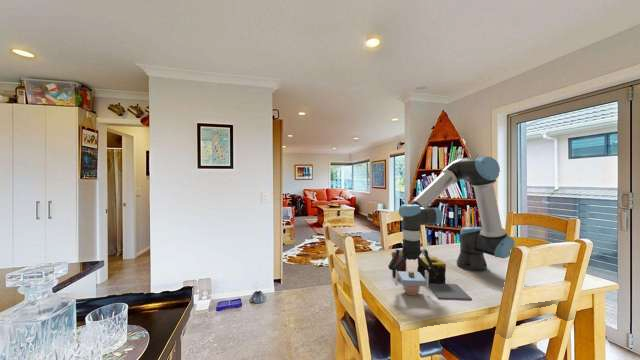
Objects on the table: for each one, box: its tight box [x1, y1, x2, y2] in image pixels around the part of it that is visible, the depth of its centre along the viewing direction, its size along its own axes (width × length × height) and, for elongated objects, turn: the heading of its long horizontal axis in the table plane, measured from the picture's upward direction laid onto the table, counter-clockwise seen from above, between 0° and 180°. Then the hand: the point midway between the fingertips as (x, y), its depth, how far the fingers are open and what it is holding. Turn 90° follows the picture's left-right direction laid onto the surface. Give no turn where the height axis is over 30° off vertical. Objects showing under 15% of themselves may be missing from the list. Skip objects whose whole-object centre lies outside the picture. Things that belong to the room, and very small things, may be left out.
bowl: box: [402, 285, 421, 296], centre depth 114 cm, size 7×7×5 cm
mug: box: [390, 251, 407, 272], centre depth 136 cm, size 12×9×10 cm
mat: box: [427, 283, 473, 301], centre depth 115 cm, size 14×14×1 cm
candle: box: [416, 257, 447, 284], centre depth 128 cm, size 10×10×10 cm
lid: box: [398, 270, 426, 287], centre depth 114 cm, size 10×10×4 cm
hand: (411, 285), depth 114 cm, fingers open, 13 cm apart
